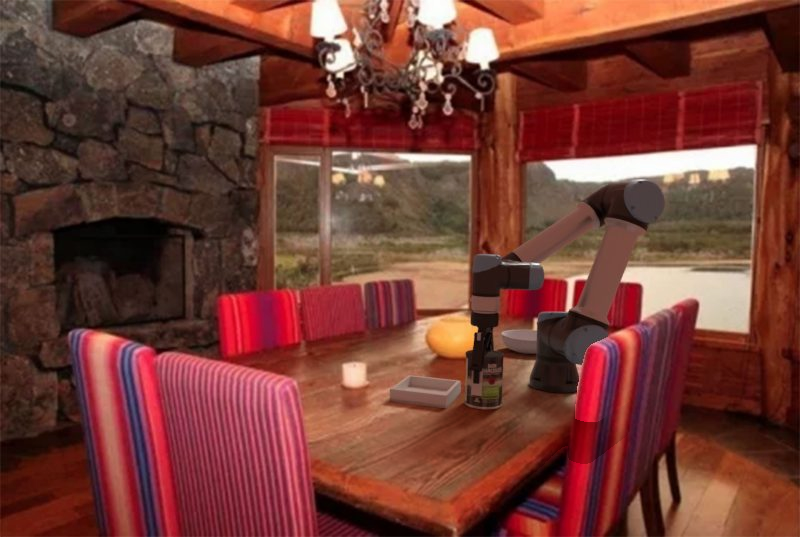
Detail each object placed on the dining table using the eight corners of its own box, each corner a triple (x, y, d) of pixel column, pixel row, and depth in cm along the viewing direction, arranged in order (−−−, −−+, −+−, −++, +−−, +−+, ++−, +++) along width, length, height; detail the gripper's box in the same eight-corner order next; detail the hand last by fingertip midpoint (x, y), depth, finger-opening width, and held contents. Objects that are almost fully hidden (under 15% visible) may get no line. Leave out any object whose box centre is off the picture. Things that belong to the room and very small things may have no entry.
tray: (460, 392, 169) (460, 380, 169) (446, 408, 154) (446, 395, 154) (408, 386, 175) (408, 375, 174) (389, 401, 160) (389, 388, 159)
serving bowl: (496, 355, 220) (497, 337, 220) (505, 344, 240) (505, 328, 240) (553, 360, 214) (554, 341, 213) (557, 348, 233) (558, 331, 233)
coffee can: (509, 408, 156) (510, 356, 155) (473, 411, 153) (474, 358, 152) (492, 397, 165) (493, 348, 164) (458, 399, 163) (459, 349, 162)
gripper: (480, 304, 170) (477, 376, 172) (460, 316, 147) (457, 399, 148) (506, 306, 168) (503, 379, 169) (489, 318, 144) (486, 402, 146)
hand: (481, 388), depth 159 cm, fingers open, 13 cm apart
